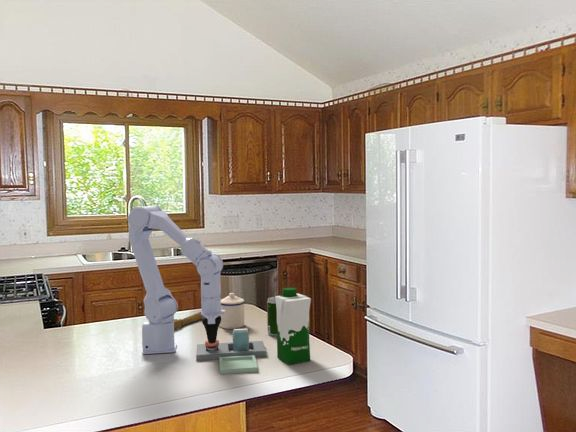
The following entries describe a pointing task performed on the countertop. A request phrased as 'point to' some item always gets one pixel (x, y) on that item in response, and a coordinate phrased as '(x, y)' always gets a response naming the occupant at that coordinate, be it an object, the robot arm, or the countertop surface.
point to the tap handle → (187, 320)
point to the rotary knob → (240, 340)
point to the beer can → (272, 316)
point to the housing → (224, 352)
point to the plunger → (212, 345)
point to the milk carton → (293, 326)
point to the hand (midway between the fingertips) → (212, 341)
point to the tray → (238, 364)
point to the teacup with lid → (232, 312)
